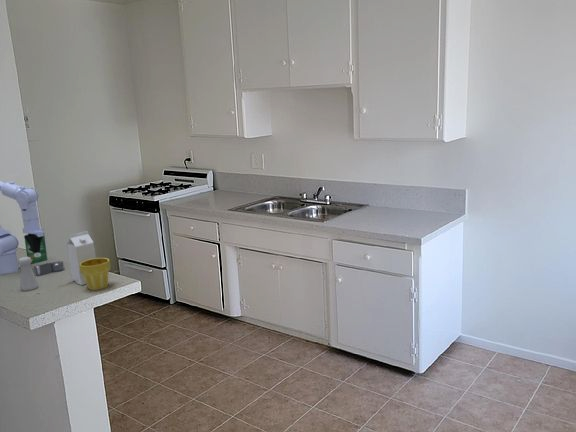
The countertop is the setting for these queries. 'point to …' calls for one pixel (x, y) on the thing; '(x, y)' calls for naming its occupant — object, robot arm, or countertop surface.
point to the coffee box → (37, 256)
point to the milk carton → (79, 254)
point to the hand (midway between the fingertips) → (36, 252)
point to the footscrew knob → (49, 268)
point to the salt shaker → (27, 275)
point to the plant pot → (95, 272)
